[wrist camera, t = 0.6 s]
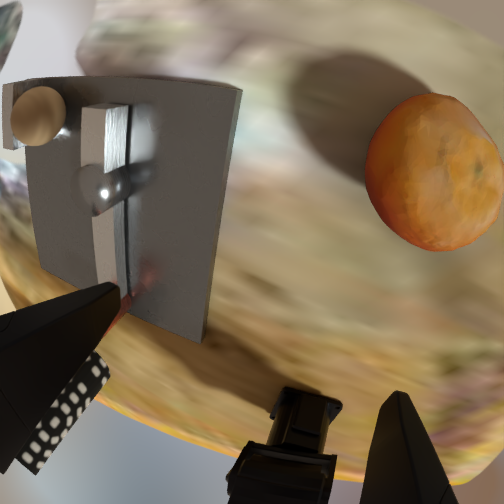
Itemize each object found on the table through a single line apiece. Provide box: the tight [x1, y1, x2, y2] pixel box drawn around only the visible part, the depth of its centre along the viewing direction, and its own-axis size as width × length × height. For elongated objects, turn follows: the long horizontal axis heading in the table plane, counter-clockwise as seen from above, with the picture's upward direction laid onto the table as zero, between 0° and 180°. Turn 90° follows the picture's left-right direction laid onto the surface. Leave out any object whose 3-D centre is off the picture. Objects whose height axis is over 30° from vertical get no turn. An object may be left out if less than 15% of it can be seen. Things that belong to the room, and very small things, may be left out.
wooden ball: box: [10, 86, 66, 146], centre depth 20 cm, size 5×5×5 cm
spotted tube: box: [15, 351, 110, 475], centre depth 33 cm, size 8×8×20 cm
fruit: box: [365, 92, 504, 252], centre depth 15 cm, size 8×8×8 cm
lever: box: [70, 103, 132, 337], centre depth 23 cm, size 20×4×6 cm, turn 169°
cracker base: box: [2, 76, 243, 344], centre depth 24 cm, size 22×22×4 cm
